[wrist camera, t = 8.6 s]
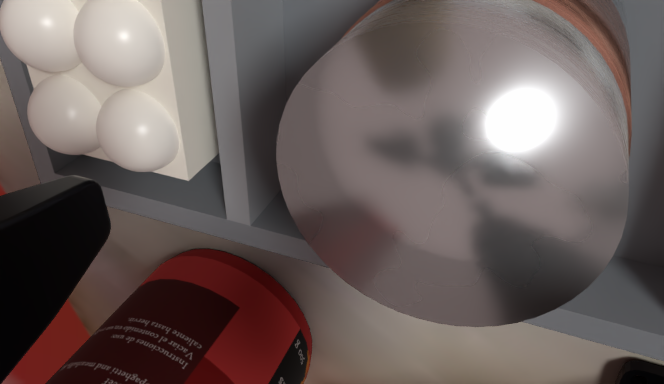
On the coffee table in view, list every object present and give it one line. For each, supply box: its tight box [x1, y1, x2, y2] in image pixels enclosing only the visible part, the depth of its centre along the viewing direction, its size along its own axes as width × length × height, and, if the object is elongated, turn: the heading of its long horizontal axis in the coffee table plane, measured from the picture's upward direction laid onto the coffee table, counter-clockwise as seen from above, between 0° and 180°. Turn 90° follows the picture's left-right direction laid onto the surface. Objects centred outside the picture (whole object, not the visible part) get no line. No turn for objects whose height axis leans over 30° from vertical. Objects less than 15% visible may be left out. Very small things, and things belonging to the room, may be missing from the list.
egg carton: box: [0, 0, 219, 181], centre depth 16 cm, size 8×5×4 cm, turn 0°
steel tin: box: [276, 0, 632, 327], centre depth 12 cm, size 6×6×7 cm
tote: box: [0, 0, 664, 361], centre depth 15 cm, size 13×21×4 cm, turn 90°
